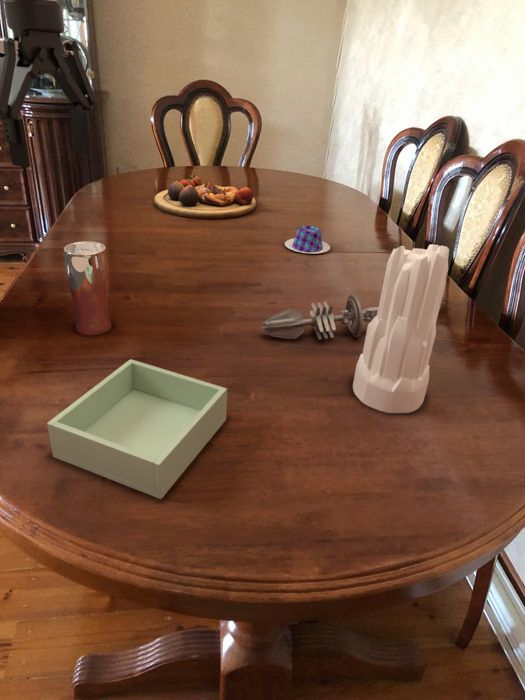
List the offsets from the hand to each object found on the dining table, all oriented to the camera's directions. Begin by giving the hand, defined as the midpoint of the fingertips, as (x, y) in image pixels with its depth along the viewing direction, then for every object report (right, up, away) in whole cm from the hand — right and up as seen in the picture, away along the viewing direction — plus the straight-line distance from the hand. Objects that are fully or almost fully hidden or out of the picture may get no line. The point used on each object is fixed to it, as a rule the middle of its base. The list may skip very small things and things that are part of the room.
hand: (54, 159), depth 83 cm
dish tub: (+18, -42, -14) cm, 48 cm away
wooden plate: (+15, +15, +84) cm, 86 cm away
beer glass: (+3, -27, +11) cm, 29 cm away
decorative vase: (+53, -37, -1) cm, 64 cm away
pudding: (+45, -4, +55) cm, 71 cm away
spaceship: (+50, -28, +15) cm, 59 cm away
